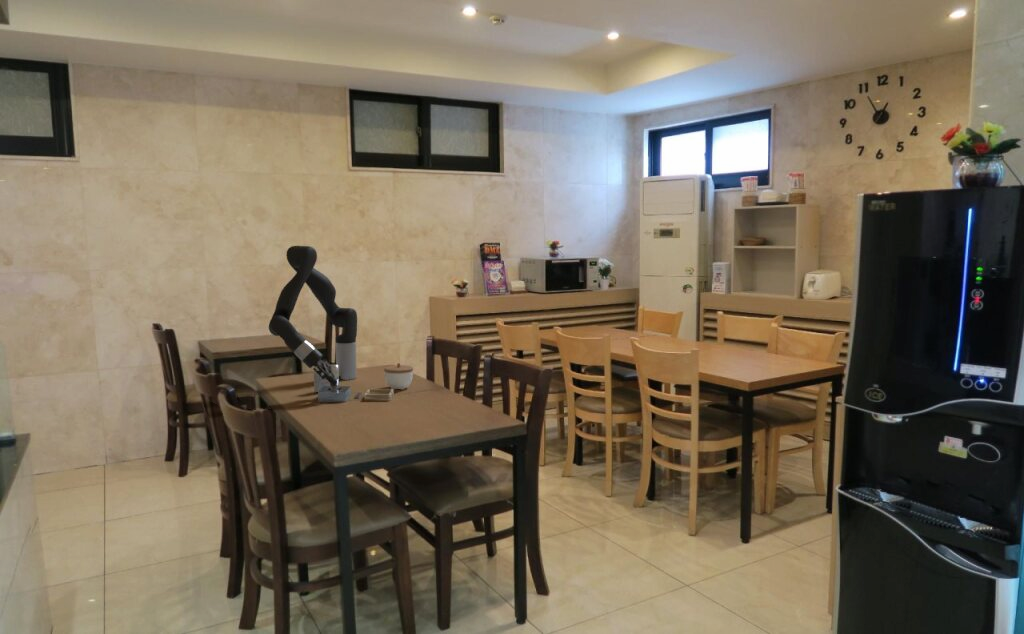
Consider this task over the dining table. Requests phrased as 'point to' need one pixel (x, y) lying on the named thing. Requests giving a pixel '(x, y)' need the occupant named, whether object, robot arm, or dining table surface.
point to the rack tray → (379, 395)
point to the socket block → (334, 394)
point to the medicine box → (319, 382)
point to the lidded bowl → (398, 376)
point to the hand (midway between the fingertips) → (337, 381)
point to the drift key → (358, 395)
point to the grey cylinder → (334, 376)
